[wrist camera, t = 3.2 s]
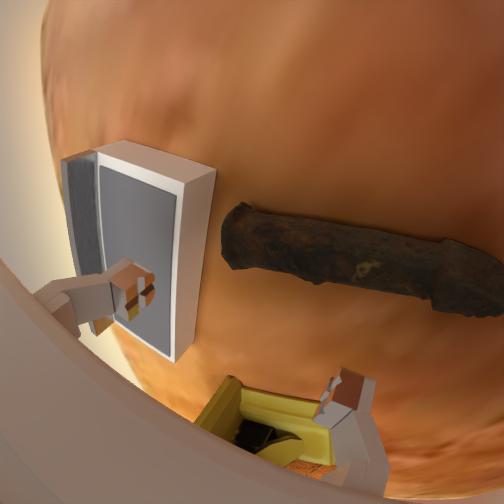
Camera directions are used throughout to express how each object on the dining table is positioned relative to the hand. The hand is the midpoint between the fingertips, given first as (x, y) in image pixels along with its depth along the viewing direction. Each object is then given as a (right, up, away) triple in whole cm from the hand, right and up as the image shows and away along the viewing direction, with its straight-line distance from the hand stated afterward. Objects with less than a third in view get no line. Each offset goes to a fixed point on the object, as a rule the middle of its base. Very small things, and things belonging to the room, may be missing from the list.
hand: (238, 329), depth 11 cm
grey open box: (-8, +3, +16) cm, 19 cm away
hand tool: (+5, +7, +11) cm, 14 cm away
